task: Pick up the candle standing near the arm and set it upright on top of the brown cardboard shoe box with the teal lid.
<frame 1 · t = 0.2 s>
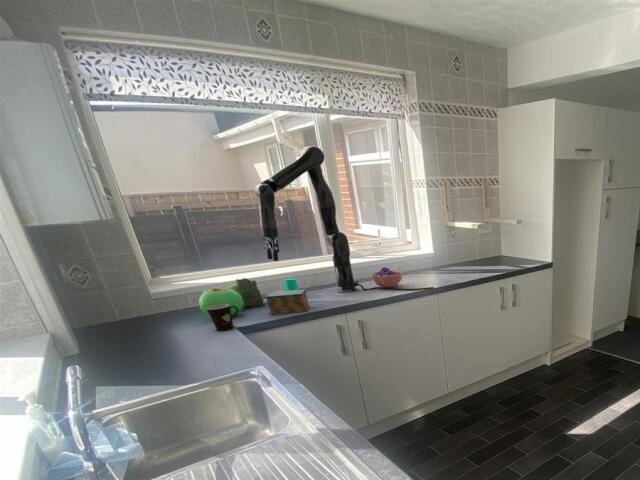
hand: (272, 259, 220), 22 cm above the countertop, tool pointing down, fingers open, 8 cm apart
green round pot: (226, 316, 207), on the countertop
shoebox: (290, 310, 214), on the countertop
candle: (294, 298, 238), on the countertop
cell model: (388, 287, 256), on the countertop
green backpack: (243, 307, 221), on the countertop
coffee mug: (229, 328, 189), on the countertop
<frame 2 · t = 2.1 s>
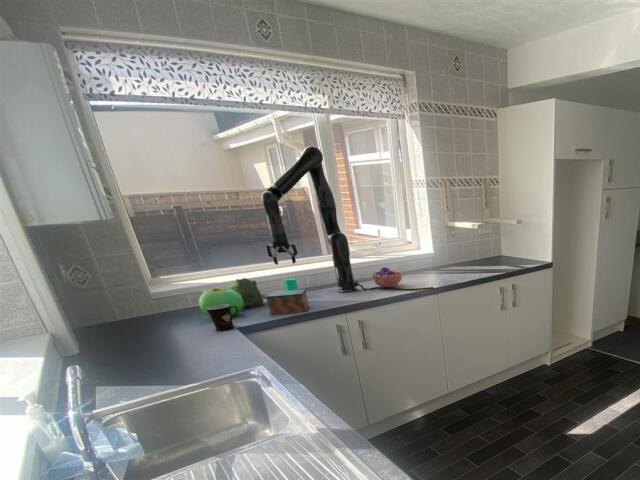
hand: (285, 263, 230), 19 cm above the countertop, tool pointing down, fingers open, 8 cm apart
nothing on the countertop moved.
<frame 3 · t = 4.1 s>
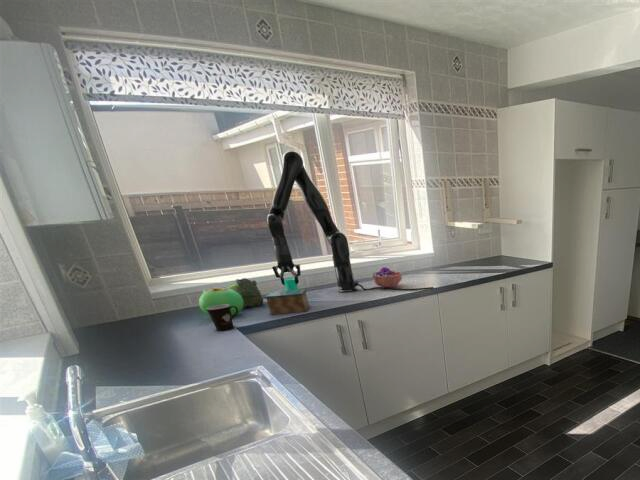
hand: (290, 284, 235), 8 cm above the countertop, tool pointing down, fingers closed on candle, 6 cm apart
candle: (294, 298, 238), on the countertop, touching gripper
everything else where it was.
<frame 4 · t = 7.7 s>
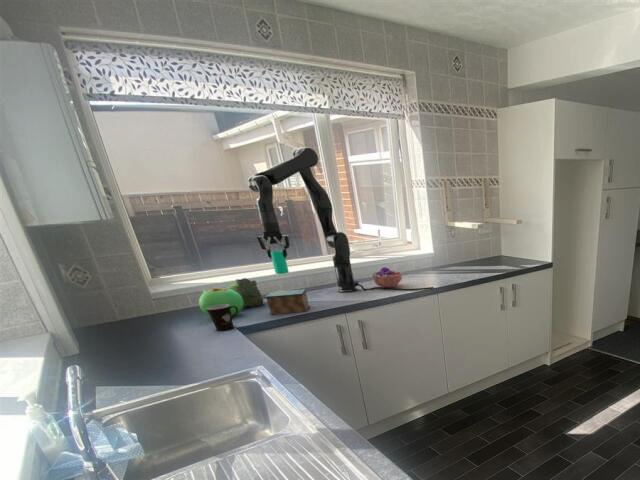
hand: (278, 257, 210), 25 cm above the countertop, tool pointing down, fingers closed on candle, 6 cm apart
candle: (282, 273, 213), point 17 cm above the countertop, touching gripper
everything else where it was.
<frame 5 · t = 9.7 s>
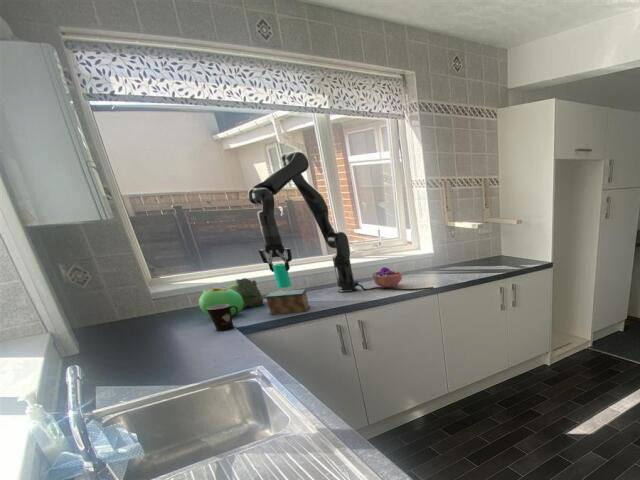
hand: (280, 270, 205), 20 cm above the countertop, tool pointing down, fingers closed on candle, 6 cm apart
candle: (284, 286, 208), point 12 cm above the countertop, touching gripper
everything else where it was.
when the fingers open (17 cm above the countertop, at t = 11.2 s): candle stays where it is, resting on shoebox.
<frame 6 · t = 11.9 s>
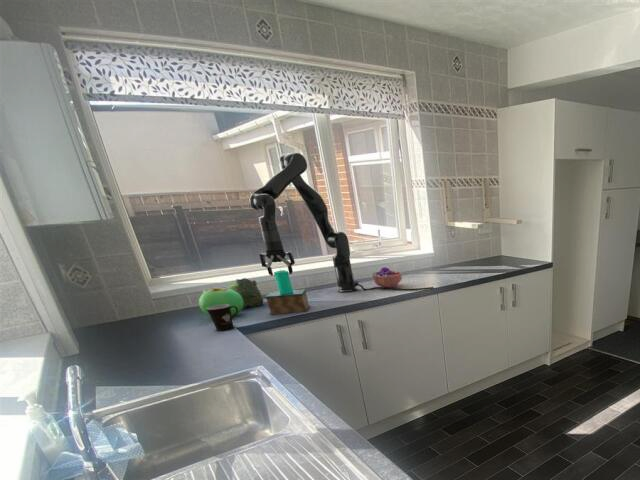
hand: (281, 274, 206), 18 cm above the countertop, tool pointing down, fingers open, 8 cm apart
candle: (286, 293, 210), point 9 cm above the countertop, touching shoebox
everything else where it was.
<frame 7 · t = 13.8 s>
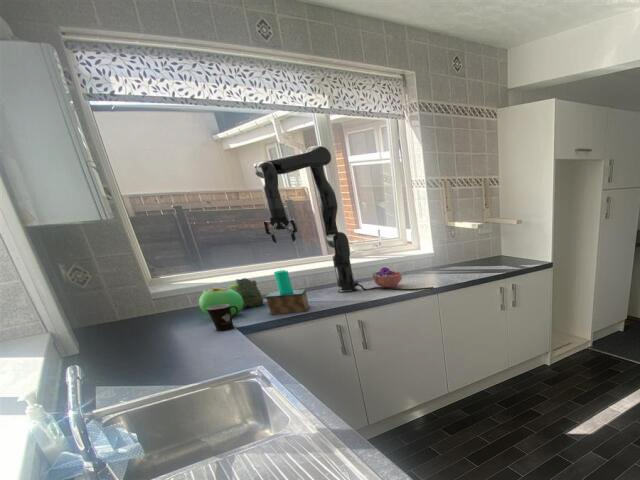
hand: (284, 242, 214), 31 cm above the countertop, tool pointing down, fingers open, 8 cm apart
nothing on the countertop moved.
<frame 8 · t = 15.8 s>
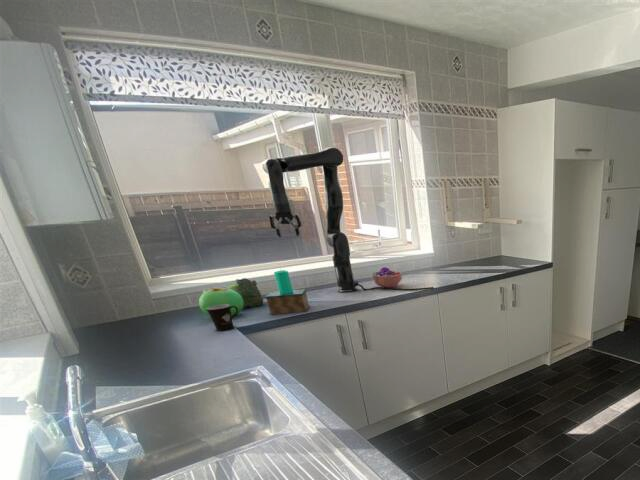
hand: (289, 236, 221), 33 cm above the countertop, tool pointing down, fingers open, 8 cm apart
nothing on the countertop moved.
at the end: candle inside the target area on the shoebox (0.1 cm from its centre), point 8.8 cm above the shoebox's base; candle tilted 0°; the gripper is holding nothing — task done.
